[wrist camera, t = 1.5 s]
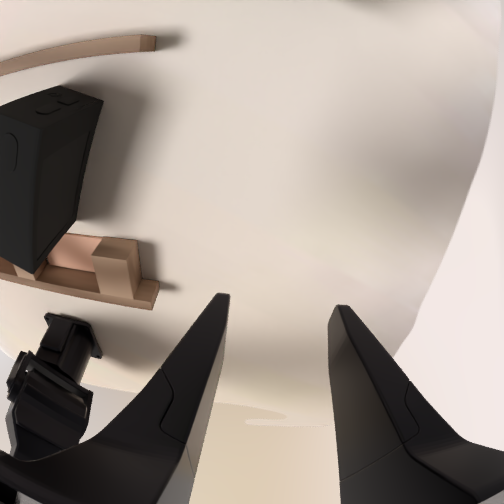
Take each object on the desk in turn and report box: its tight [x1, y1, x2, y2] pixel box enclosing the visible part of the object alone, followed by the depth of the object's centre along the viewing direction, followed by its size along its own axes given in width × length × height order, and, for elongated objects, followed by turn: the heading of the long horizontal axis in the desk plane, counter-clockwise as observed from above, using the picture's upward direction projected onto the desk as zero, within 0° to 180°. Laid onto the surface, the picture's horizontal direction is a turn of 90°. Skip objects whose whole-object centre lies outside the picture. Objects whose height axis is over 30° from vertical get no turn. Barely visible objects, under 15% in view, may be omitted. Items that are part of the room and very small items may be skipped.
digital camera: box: [0, 86, 104, 274], centre depth 16 cm, size 10×5×7 cm, turn 153°
